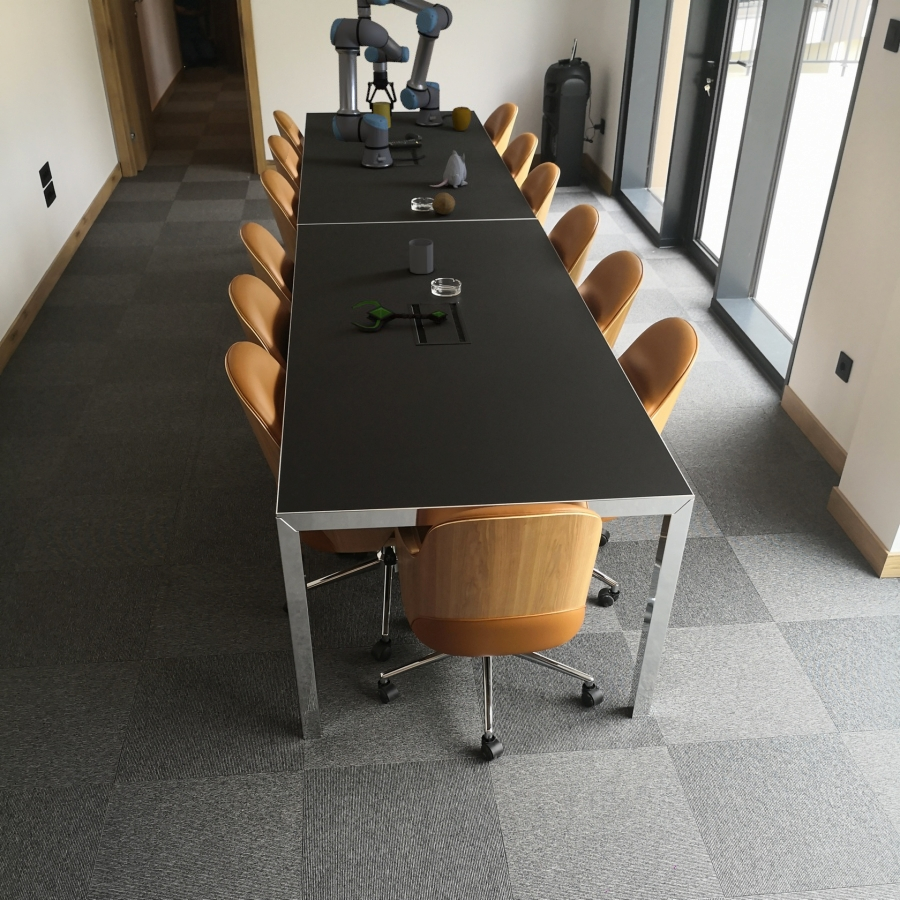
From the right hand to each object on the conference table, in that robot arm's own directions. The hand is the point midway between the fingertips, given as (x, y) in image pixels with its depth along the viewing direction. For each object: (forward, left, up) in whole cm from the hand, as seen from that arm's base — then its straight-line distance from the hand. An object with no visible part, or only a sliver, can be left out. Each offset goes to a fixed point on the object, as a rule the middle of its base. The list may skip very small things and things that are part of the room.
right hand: (366, 57), depth 496 cm
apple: (-16, +59, -34) cm, 70 cm away
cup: (+157, +191, -34) cm, 250 cm away
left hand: (+29, +41, -22) cm, 55 cm away
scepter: (+195, +218, -34) cm, 294 cm away
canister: (+29, +41, -28) cm, 57 cm away
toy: (+75, +130, -34) cm, 154 cm away
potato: (+104, +154, -34) cm, 188 cm away
